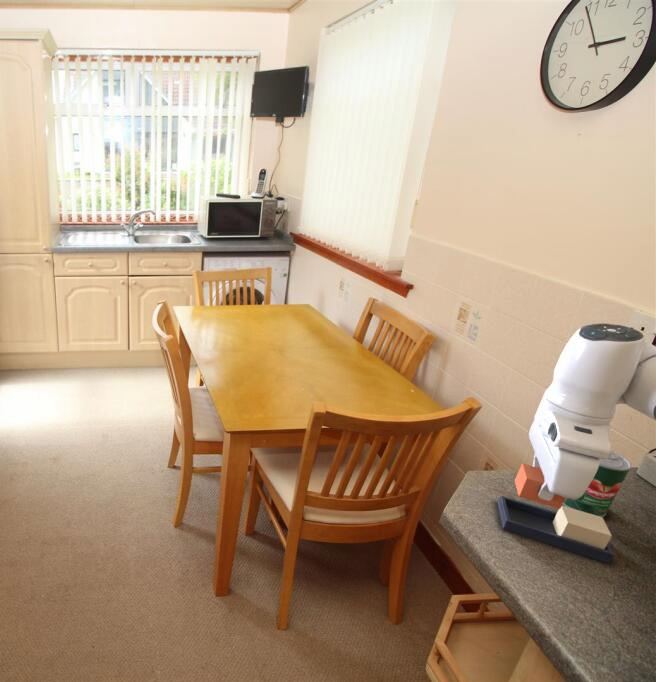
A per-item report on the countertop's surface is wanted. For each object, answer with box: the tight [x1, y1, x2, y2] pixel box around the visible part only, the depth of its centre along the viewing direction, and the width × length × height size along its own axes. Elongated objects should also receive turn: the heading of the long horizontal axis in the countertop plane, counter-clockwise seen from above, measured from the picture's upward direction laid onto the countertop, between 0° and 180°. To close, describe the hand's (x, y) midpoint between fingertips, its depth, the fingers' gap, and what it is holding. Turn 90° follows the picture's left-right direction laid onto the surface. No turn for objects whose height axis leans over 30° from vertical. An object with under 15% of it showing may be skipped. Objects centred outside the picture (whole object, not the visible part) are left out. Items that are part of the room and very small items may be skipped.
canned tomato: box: [562, 450, 632, 518], centre depth 90 cm, size 8×8×11 cm
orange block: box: [514, 463, 566, 510], centre depth 83 cm, size 6×5×4 cm
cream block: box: [553, 505, 613, 549], centre depth 82 cm, size 6×5×4 cm
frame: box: [497, 495, 615, 565], centre depth 84 cm, size 15×8×2 cm, turn 61°
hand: (539, 486), depth 83 cm, fingers closed on orange block, 5 cm apart
